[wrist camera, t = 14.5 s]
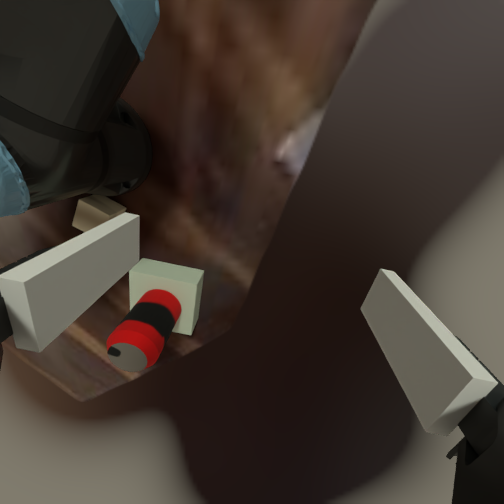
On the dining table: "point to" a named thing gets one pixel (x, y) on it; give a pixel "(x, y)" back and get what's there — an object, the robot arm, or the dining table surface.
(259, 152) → the dining table surface
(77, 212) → the maple cube
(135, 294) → the green block
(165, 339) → the soda can
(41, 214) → the dining table surface
